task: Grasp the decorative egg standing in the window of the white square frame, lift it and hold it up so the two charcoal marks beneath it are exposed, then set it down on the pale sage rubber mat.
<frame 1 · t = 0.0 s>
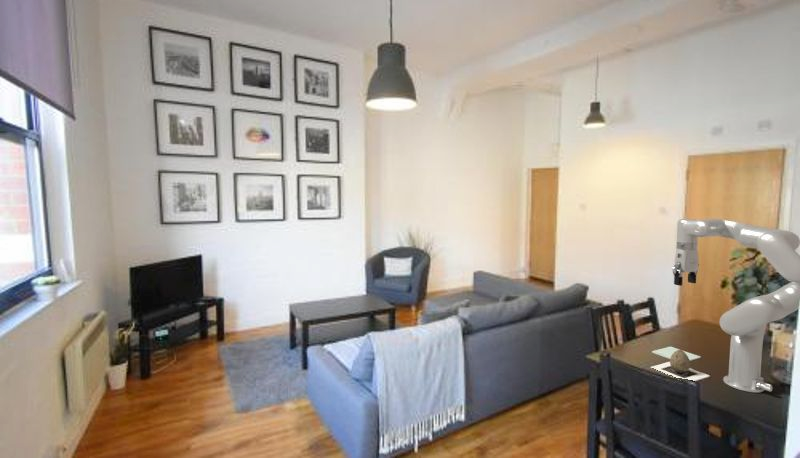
hand: (684, 283, 177), 37 cm above the table, tool pointing down, fingers open, 9 cm apart
decorative egg: (679, 372, 170), resting in white square frame
white square frame: (679, 372, 170), on the table
sage mat: (675, 355, 188), on the table
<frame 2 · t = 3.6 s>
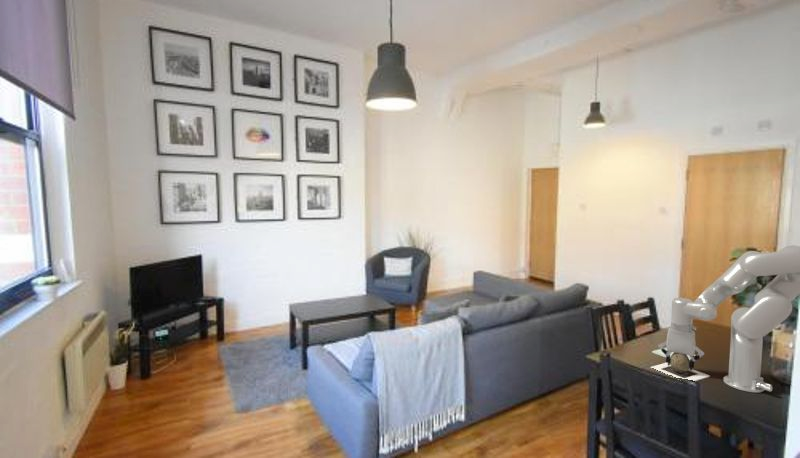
hand: (679, 366, 170), 3 cm above the table, tool pointing down, fingers closed on decorative egg, 7 cm apart
decorative egg: (679, 372, 170), resting in white square frame, touching gripper
when the fingers open (4 cm above the table, at t = 12.3 s): decorative egg drops 1 cm, resting on sage mat.
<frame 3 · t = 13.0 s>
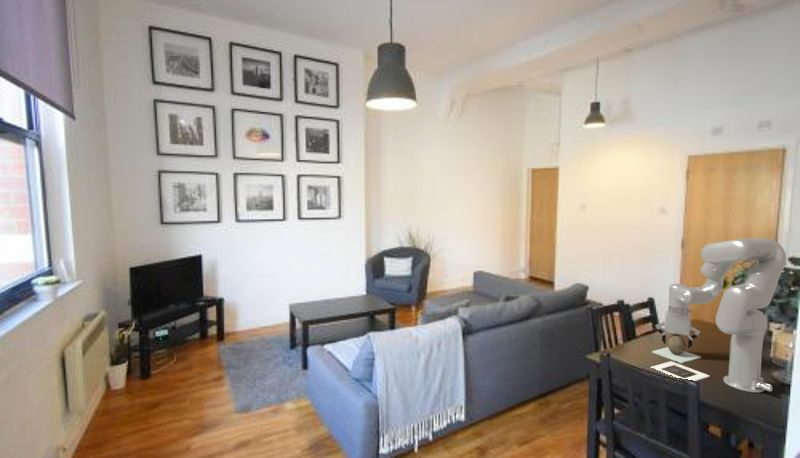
hand: (676, 345, 187), 5 cm above the table, tool pointing down, fingers open, 9 cm apart
decorative egg: (676, 354, 188), resting on sage mat
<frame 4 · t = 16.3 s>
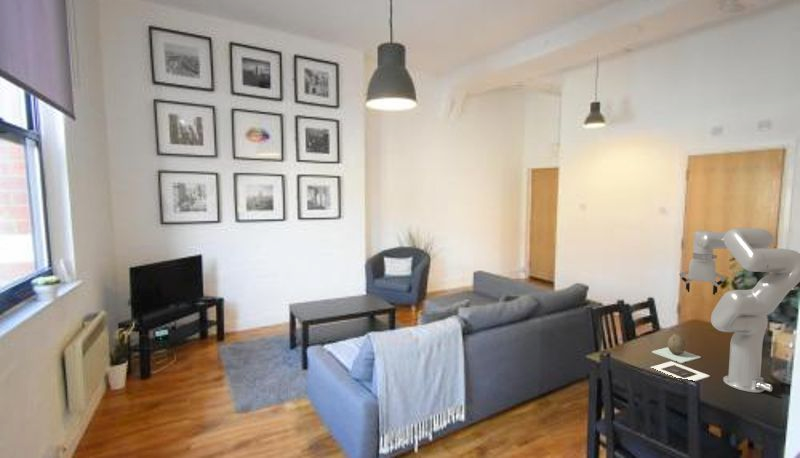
hand: (701, 292, 186), 30 cm above the table, tool pointing down, fingers open, 9 cm apart
nothing on the table moved.
at the end: decorative egg inside the target area on the sage mat (0.2 cm from its centre), point 0.4 cm above the sage mat's base; decorative egg touching sage mat; the gripper is holding nothing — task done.
